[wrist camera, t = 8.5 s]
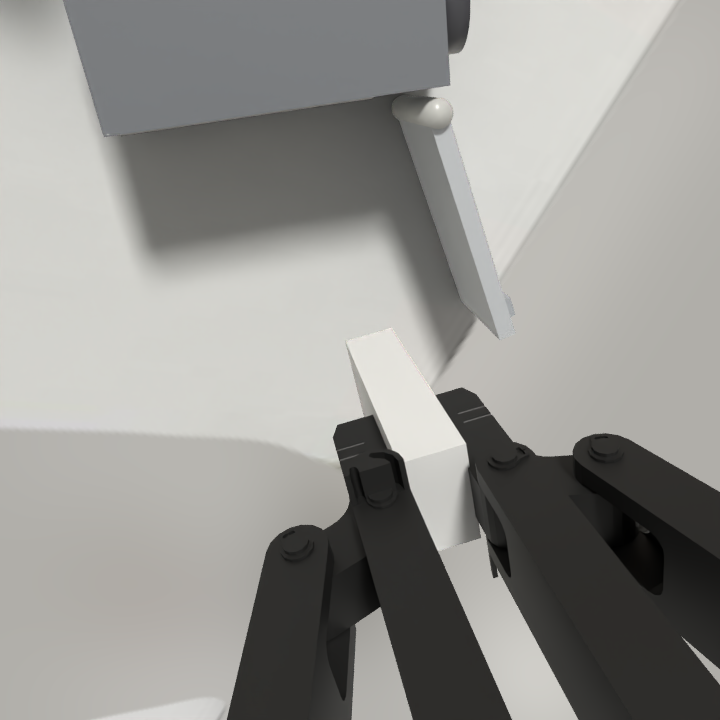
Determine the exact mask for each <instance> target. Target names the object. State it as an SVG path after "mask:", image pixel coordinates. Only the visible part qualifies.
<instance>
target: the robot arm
mask: <svg viewBox="0 0 720 720" xmlns="http://www.w3.org/2000/svg"><path fill="white" fill-rule="evenodd" d="M345 342H346V346H347V350H348V354H349V358H350V362H351V366H352V370H353V374H354V378H355V382H356V386H357V390H358V394H359V398H360V402H361V406H362V410H363V414H364V417H363V418H360V419H357V420H353V421H350V422H346V423H343V424H339V425H337V428H336V430H335V433H334V436H333V440H334V443H335V447H336V450H337V454H338V458H339V461H340V465H341V468H342V472H343V475H344V479H345V482H346V486H347V490H348V493H349V499H350V502H349V506H348V509H347V510H346V512H345V514H344V515H343V516H342V517H341V518H340V519H339V520H338V521H337V522H336V523H334V524H333V525H331V526H330V527H328V528H326V529H325V530H322V529H321V528H319V527H316V526H313V525H299V526H295V527H292V528H289V529H287V530H285V531H284V532H282V533H280V534H279V535H278V536H277V537H276V538H275V539H274V540H273V541H272V542H271V543H270V545H269V547H268V550H267V552H266V556H265V560H264V564H263V568H262V572H261V577H260V581H259V585H258V590H257V594H256V598H255V603H254V607H253V611H252V616H251V620H250V623H249V628H248V632H247V636H246V640H245V645H244V649H243V653H242V658H241V662H240V666H239V670H238V675H237V679H236V683H235V688H234V692H233V696H232V700H231V705H230V708H229V713H228V717H227V720H351V716H352V697H353V678H354V659H355V638H356V627H355V624H356V623H357V622H359V621H360V620H361V619H363V618H364V617H366V616H367V615H369V614H370V613H372V612H373V611H375V610H376V609H378V608H379V607H381V609H382V613H383V616H384V620H385V623H386V627H387V630H388V634H389V637H390V641H391V644H392V648H393V651H394V655H395V658H396V662H397V665H398V669H399V672H400V676H401V679H402V683H403V686H404V689H405V693H406V697H407V700H408V704H409V707H410V711H411V714H412V718H413V720H512V719H511V717H510V714H509V712H508V710H507V708H506V705H505V703H504V701H503V699H502V696H501V694H500V691H499V689H498V687H497V685H496V683H495V680H494V678H493V676H492V673H491V671H490V669H489V667H488V664H487V662H486V660H485V657H484V655H483V653H482V651H481V648H480V646H479V644H478V641H477V639H476V637H475V635H474V632H473V630H472V628H471V626H470V623H469V621H468V619H467V616H466V614H465V612H464V610H463V607H462V605H461V603H460V601H459V598H458V596H457V594H456V592H455V589H454V587H453V585H452V582H451V581H450V578H449V576H448V573H447V571H446V569H445V566H444V564H443V562H442V560H441V557H440V555H439V553H438V551H440V550H444V549H446V548H450V547H453V546H456V545H459V544H463V543H466V542H469V541H472V540H476V539H479V538H481V535H480V529H479V523H480V525H481V527H482V529H483V530H484V532H485V534H486V538H487V545H488V552H489V558H490V565H491V571H492V575H493V578H495V577H498V574H497V569H498V571H499V572H500V574H501V576H502V578H503V580H504V582H505V584H506V585H507V587H508V589H509V591H510V593H511V595H512V597H513V599H514V600H515V602H516V604H517V606H518V608H519V610H520V612H521V613H522V615H523V617H524V619H525V621H526V623H527V624H528V626H529V628H530V630H531V632H532V634H533V636H534V637H535V639H536V641H537V643H538V645H539V647H540V649H541V651H542V653H543V654H544V656H545V658H546V660H547V662H548V664H549V665H550V667H551V669H552V671H553V673H554V675H555V677H556V678H557V680H558V682H559V684H560V686H561V688H562V690H563V691H564V693H565V695H566V697H567V699H568V701H569V703H570V705H571V706H572V708H573V710H574V712H575V714H576V716H577V718H578V719H579V720H720V685H719V683H718V682H717V681H716V680H715V678H714V677H713V676H712V675H711V673H710V672H709V671H708V670H707V668H706V667H705V666H704V665H703V663H702V662H701V661H700V660H699V658H698V657H697V656H696V655H695V653H694V652H693V651H692V650H691V648H690V647H689V646H688V645H687V643H686V642H685V641H684V640H683V638H684V639H685V640H686V641H688V642H689V643H690V644H691V645H692V646H693V647H694V648H696V649H697V650H698V651H699V652H700V653H702V654H703V655H704V656H705V657H706V658H707V659H709V660H710V661H711V662H712V663H713V664H714V665H716V666H717V667H718V668H719V669H720V492H719V491H717V490H715V489H714V488H711V487H710V486H708V485H707V484H705V483H703V482H702V481H699V480H698V479H696V478H694V477H693V476H691V475H689V474H688V473H686V472H684V471H683V470H681V469H679V468H677V467H675V466H674V465H672V464H670V463H669V462H667V461H665V460H663V459H662V458H660V457H658V456H656V455H655V454H653V453H651V452H649V451H648V450H646V449H644V448H643V447H641V446H639V445H638V444H636V443H634V442H632V441H631V440H629V439H626V438H624V437H621V436H618V435H612V434H606V433H605V434H593V435H591V436H587V437H584V438H582V439H581V440H580V441H578V442H577V443H576V444H575V446H574V449H573V455H569V456H555V457H542V456H537V455H535V453H534V452H533V451H532V450H530V449H529V448H528V447H527V446H525V445H522V444H519V443H516V442H513V441H512V440H511V439H510V438H509V436H508V435H507V434H506V432H505V431H504V430H503V429H502V428H501V426H500V425H499V423H498V422H497V421H496V419H495V418H494V417H493V416H492V415H491V414H490V412H489V410H488V409H487V408H486V407H485V406H484V404H483V403H482V402H481V400H480V399H479V397H478V396H477V395H476V394H474V393H472V392H470V391H468V390H466V389H464V388H458V389H455V390H452V391H448V392H445V393H441V394H438V395H435V394H434V393H433V391H432V390H431V388H430V387H429V385H428V383H427V382H426V380H425V379H424V377H423V376H422V374H421V372H420V371H419V369H418V368H417V366H416V365H415V363H414V362H413V360H412V358H411V357H410V355H409V354H408V352H407V351H406V349H405V348H404V346H403V344H402V343H401V341H400V340H399V338H398V337H397V335H396V333H395V332H394V330H393V329H392V328H389V329H386V330H382V331H379V332H375V333H371V334H368V335H364V336H361V337H357V338H354V339H350V340H346V341H345ZM681 636H682V637H683V638H682V637H681Z"/></svg>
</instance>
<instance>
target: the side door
mask: <svg viewBox="0 0 720 720" xmlns="http://www.w3.org/2000/svg"><path fill="white" fill-rule="evenodd" d="M392 113H393V115H394V117H395V118H397V119H398V120H399V122H400V125H401V128H402V131H403V134H404V137H405V140H406V143H407V146H408V148H409V151H410V154H411V157H412V160H413V163H414V166H415V169H416V172H417V174H418V177H419V180H420V183H421V186H422V189H423V192H424V195H425V198H426V201H427V203H428V206H429V209H430V212H431V215H432V218H433V221H434V224H435V227H436V229H437V232H438V235H439V238H440V241H441V244H442V247H443V250H444V253H445V256H446V258H447V261H448V264H449V267H450V270H451V273H452V276H453V279H454V282H455V285H456V287H457V290H458V293H459V296H460V299H461V302H462V303H463V304H464V305H465V306H466V307H467V308H468V309H469V310H470V311H471V312H472V313H473V314H474V315H475V316H476V317H477V318H478V319H479V320H480V321H481V322H482V323H483V324H484V325H485V326H486V327H487V328H488V329H489V330H490V331H491V332H492V333H493V334H494V335H495V336H496V337H497V338H498V339H499V340H502V339H504V338H506V337H508V336H511V335H513V334H515V330H514V327H513V324H512V320H511V316H513V315H515V312H514V309H513V305H512V302H511V299H510V297H509V296H508V295H506V294H505V293H504V292H503V291H502V288H501V285H500V281H499V278H498V275H497V271H496V268H495V265H494V262H493V258H492V255H491V252H490V249H489V245H488V242H487V239H486V236H485V232H484V229H483V226H482V222H481V219H480V216H479V213H478V209H477V206H476V203H475V200H474V196H473V193H472V190H471V187H470V183H469V180H468V177H467V173H466V170H465V167H464V164H463V160H462V157H461V154H460V151H459V147H458V144H457V141H456V138H455V134H454V131H453V128H452V124H451V120H452V117H453V108H452V105H451V104H450V102H449V101H447V100H446V99H443V98H434V97H422V96H409V95H400V96H398V97H397V98H395V100H394V101H393V103H392Z"/></svg>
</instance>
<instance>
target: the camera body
mask: <svg viewBox="0 0 720 720" xmlns="http://www.w3.org/2000/svg"><path fill="white" fill-rule="evenodd" d="M63 2H64V5H65V9H66V12H67V15H68V19H69V22H70V25H71V29H72V32H73V35H74V39H75V42H76V45H77V49H78V52H79V55H80V59H81V62H82V65H83V69H84V72H85V75H86V79H87V82H88V85H89V89H90V92H91V95H92V99H93V102H94V105H95V109H96V112H97V115H98V119H99V122H100V125H101V129H102V132H103V135H104V137H107V136H114V135H121V136H126V135H133V134H139V133H146V132H153V131H159V130H166V129H173V128H179V127H186V126H193V125H200V124H206V123H213V122H220V121H226V120H233V119H240V118H246V117H253V116H260V115H266V114H273V113H280V112H287V111H293V110H300V109H307V108H313V107H320V106H327V105H333V104H340V103H347V102H353V101H360V100H367V99H373V97H376V96H382V95H389V94H396V93H402V92H409V91H416V90H423V89H429V88H436V87H443V86H449V85H450V72H449V54H455V53H459V52H460V51H461V50H462V49H463V47H464V45H465V42H466V39H467V35H468V29H469V21H470V0H63Z"/></svg>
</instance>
